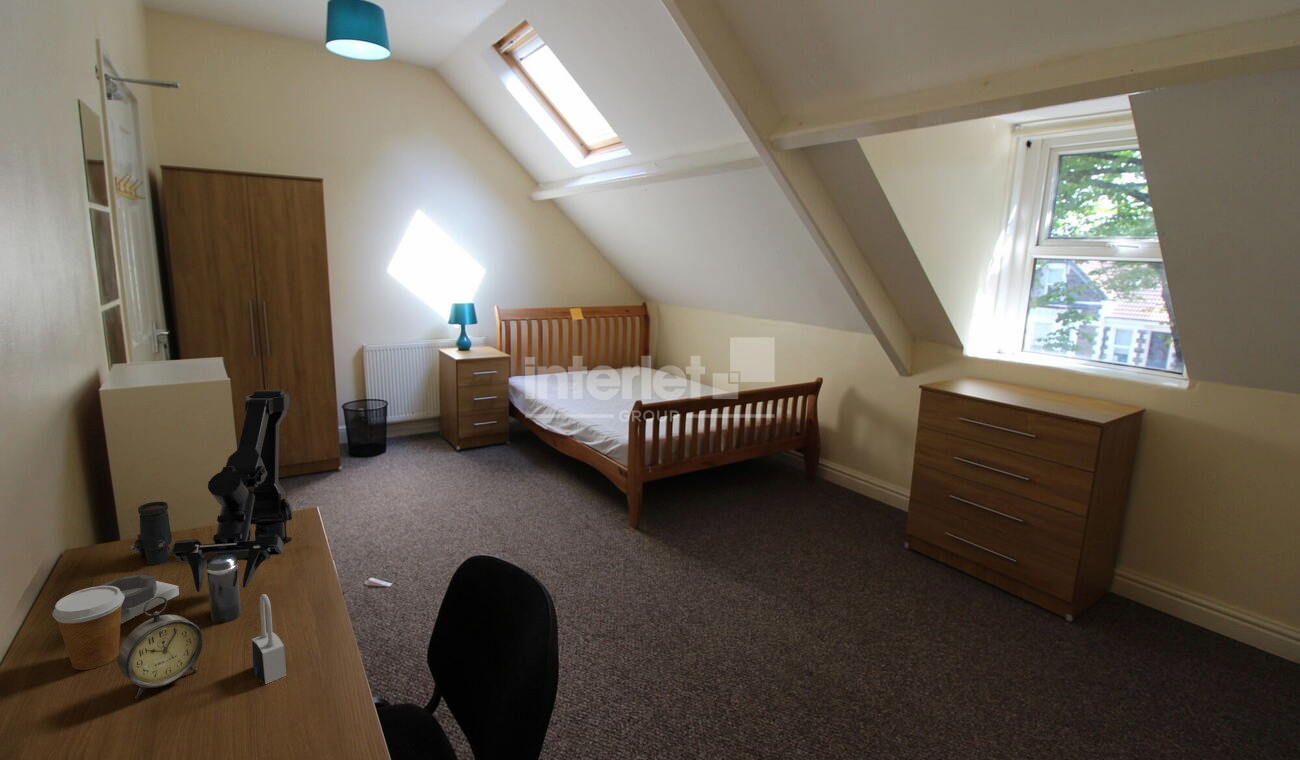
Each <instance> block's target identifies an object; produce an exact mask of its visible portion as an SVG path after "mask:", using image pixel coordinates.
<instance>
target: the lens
mask: <svg viewBox="0 0 1300 760" xmlns="http://www.w3.org/2000/svg"><path fill="white" fill-rule="evenodd" d="M206 562H207V564H206V574H207V583H208V593H209V594H208V595H209V609H210V620H211V622H213V623H215V624H224V623H229V622H231V621H235V620H236V619H237V618H238V619H239V617H240V616H241V614H242V611H241V610H242V609H241V595H240V582H239V560H237V556H236V555H235V554H221V555H214V556H211V557H210V558H208V559H207V561H206Z"/></svg>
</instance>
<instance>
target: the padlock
mask: <svg viewBox="0 0 1300 760" xmlns="http://www.w3.org/2000/svg"><path fill="white" fill-rule="evenodd" d="M259 611H260V613H259V615H260V627H261V633H260V636H257V637H253V638H251V655H252V656H251V657H252V661H251V662H252V669H253V671H254V675H255V678H256V677H257V678H256V679H258V680H259V681H260V680H261V681H263V682H262V684H264V683H265V684H267V683H269V682H272V681H274V680H277V679H279V678H281V677H284V676H287V668H286V667H287V665H286V656H285V655H286V654H285V645H284V643H283V642H282V640H281V639H280V637H279V636H278V635H277V634H276V633H275V632H273V620H272V619H273V618H272V606H271V602H270V599H269V597H268V595H267V594H265V593H262V594H261V595H260V597H259ZM266 623H267V624H266ZM284 678H285V677H284ZM261 681H260V682H261ZM277 681H278V680H277ZM272 683H273V682H272ZM265 684H264V685H265Z"/></svg>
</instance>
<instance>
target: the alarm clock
mask: <svg viewBox="0 0 1300 760" xmlns="http://www.w3.org/2000/svg"><path fill="white" fill-rule="evenodd" d="M156 598H162V599H164V600H165V602H164V606H163V608H162V609H161V610H160V611H155V612H153V613H148V612H147V611H146V607H147V605H148V603H149V602H150V601H152V600H153V599H156ZM167 605H168V600H167V599H166V598H165V597H163V596H156V597H153V598H152V599H150V600H149V601H148V602H147V603H146V604H145V606H144V609H143V610H144V614H145V615H146V616H149V617H151V618H150V619H148V620H145V621H144V622H143V623H141V624H139V625H138V626H136V627H135V628H134V629H133V630H132V631H131V632H130V633H129V634H128V635H127V636H126V638H125V639H124V640H123V642H122V644H121V647H119V654H118V656H117V664H118V665H117V666H118V669H119V671H120V672H121V673H122V675H123V676H124V677H125V678H127V679H128V680H129V681H130V682H132V684H133V685H136V686H138V687H139V688H138V691H137V693H136V695H135V696H134V700H139V699H140V696H141V695H142V693H143V692H144V691H145V689H154V688H159V687H164V686H167V685H169V684H170V683H173V682H175V681H177V680H179V679H180V678H181V677H182V676H184V675H185V674H187V673H188V671H192V672H194V673H197V672H198V668H197V667H194V665H195V664H196V662H197V660H198V659H199V657H200V655H201V653H202V652H203V651H202V650H203V646H204V636H203V632H202V630H201V628H200V627H199V626H198V625H197V624H195V623H194V622H192V621H190V620H189V619H188V618H185V617H183V616H181V615H177V614H162V615H160V614H161V613H162V612H164V610H166V607H167Z"/></svg>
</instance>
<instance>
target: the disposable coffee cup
mask: <svg viewBox="0 0 1300 760" xmlns="http://www.w3.org/2000/svg"><path fill="white" fill-rule="evenodd" d="M123 601H124V594H123V593H121V591H120V589H119V588H117V587H114V586H101V585H99V586H91V587H87V588H83V589H80V590H76V591H74V592H72V593H70V594H68V595H66V596H64V597H62V598H60V599H59V600H58V601H57V602H56V603H55V606H54V609H53V610H52V617H53V618H54V619H55V620H56V622H57V623H58V628H59V630H60V634H61V635H62V639H63V642H64V645H65V648H66V651H67V654H68V657H69V660H70V663H71V666H72V668H73V669H74V670H77V671H78V670H79V671H88V670H92V669H96V668H100V667H102V666H105V665H107V664H109V663H111V662H112V661H114V660H115V659H116V658H118V654H119V651H120V639H121V638H120V637H121V625H122V624H121V607H122V603H123Z"/></svg>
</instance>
